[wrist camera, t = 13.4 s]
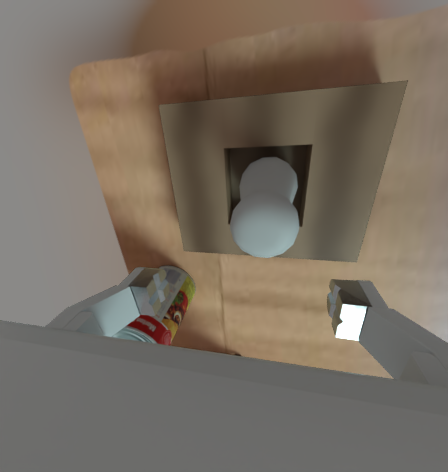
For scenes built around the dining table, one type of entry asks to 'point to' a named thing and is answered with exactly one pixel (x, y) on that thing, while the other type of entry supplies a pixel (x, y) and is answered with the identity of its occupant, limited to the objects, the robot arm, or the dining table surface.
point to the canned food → (163, 311)
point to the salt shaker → (266, 209)
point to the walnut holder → (289, 150)
